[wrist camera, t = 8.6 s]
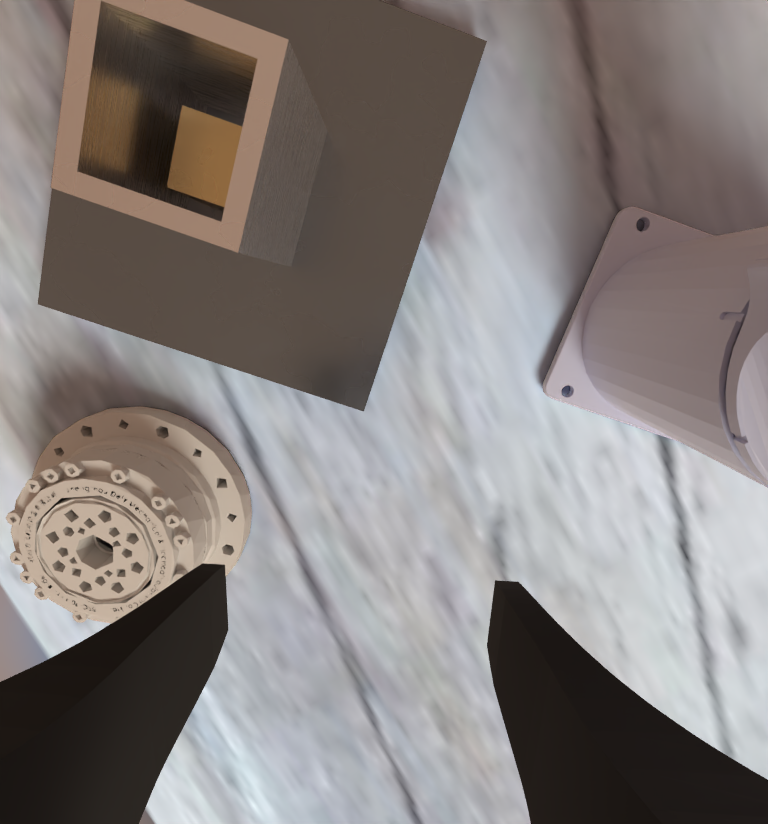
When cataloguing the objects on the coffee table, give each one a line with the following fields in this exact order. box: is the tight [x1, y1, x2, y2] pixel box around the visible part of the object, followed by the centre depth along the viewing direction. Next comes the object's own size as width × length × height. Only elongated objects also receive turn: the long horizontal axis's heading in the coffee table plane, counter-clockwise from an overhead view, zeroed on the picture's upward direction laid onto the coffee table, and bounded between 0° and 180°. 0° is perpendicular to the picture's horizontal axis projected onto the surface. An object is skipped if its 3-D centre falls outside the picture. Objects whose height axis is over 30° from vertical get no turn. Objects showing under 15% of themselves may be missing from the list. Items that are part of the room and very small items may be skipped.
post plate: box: [38, 0, 487, 411], centre depth 16 cm, size 14×14×4 cm
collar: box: [51, 0, 328, 267], centre depth 14 cm, size 5×5×6 cm
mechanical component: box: [6, 406, 252, 623], centre depth 20 cm, size 10×4×10 cm
